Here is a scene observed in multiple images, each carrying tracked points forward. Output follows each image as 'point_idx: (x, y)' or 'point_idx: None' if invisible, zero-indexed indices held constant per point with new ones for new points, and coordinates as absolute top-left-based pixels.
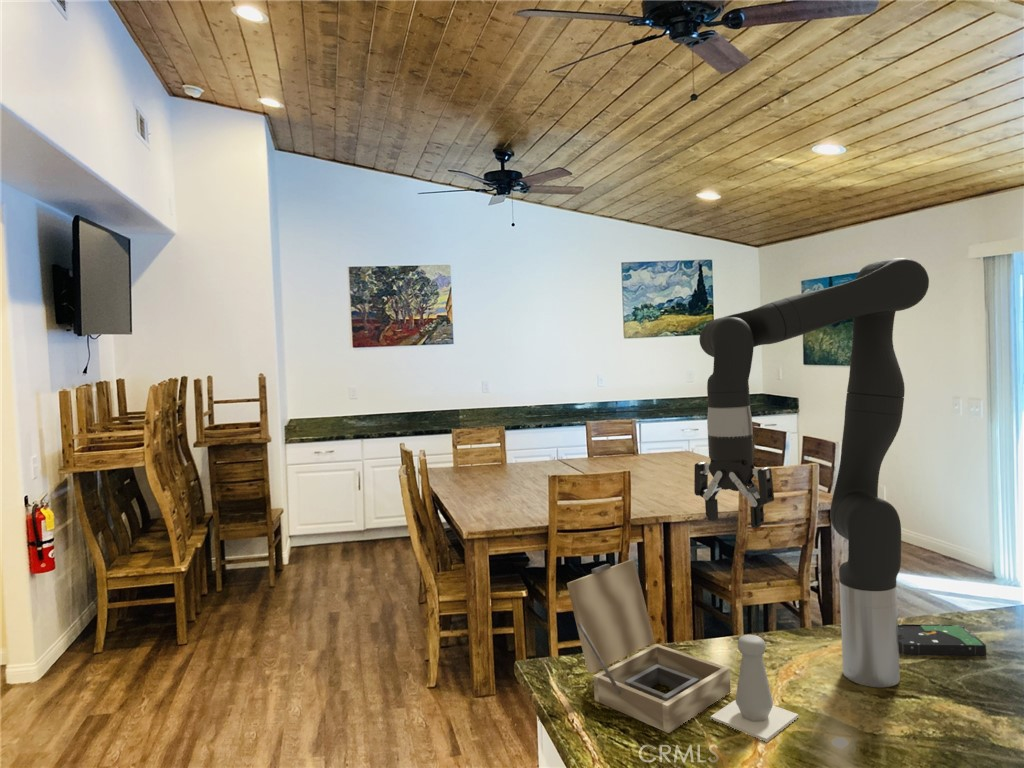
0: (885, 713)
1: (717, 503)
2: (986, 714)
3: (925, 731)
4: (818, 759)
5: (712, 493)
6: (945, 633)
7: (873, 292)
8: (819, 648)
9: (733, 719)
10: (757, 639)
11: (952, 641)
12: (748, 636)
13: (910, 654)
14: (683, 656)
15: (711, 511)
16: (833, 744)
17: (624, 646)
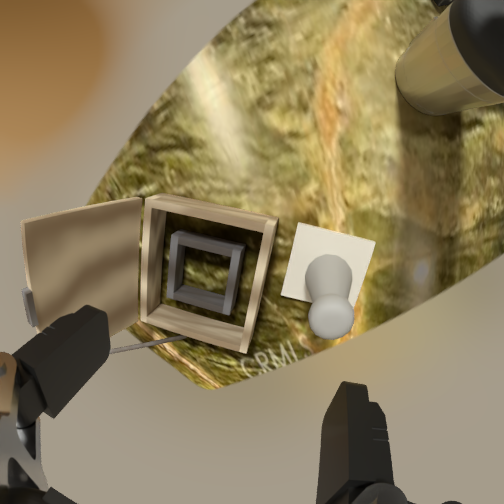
0: (459, 181)
1: (52, 354)
2: None
3: (491, 206)
4: (403, 313)
5: (40, 459)
6: None
7: None
8: (340, 16)
9: (307, 290)
10: (343, 325)
11: None
12: (326, 321)
13: (445, 4)
14: (196, 217)
15: (83, 379)
16: (415, 280)
17: (129, 265)
